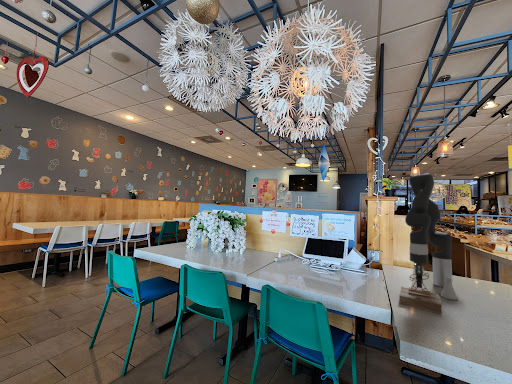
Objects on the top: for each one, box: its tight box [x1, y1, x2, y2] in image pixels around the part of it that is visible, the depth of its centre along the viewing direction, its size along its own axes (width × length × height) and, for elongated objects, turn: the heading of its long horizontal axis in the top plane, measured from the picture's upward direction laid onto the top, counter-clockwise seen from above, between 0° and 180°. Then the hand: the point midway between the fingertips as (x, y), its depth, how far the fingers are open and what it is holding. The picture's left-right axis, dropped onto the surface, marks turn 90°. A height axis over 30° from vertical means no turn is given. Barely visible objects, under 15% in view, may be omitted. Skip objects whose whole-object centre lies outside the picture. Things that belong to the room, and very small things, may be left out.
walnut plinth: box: [399, 286, 443, 315], centre depth 110 cm, size 16×16×4 cm
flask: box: [439, 278, 459, 301], centre depth 118 cm, size 7×7×10 cm
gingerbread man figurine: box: [408, 272, 432, 296], centre depth 111 cm, size 9×4×12 cm, turn 54°
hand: (419, 287), depth 110 cm, fingers closed on gingerbread man figurine, 1 cm apart
